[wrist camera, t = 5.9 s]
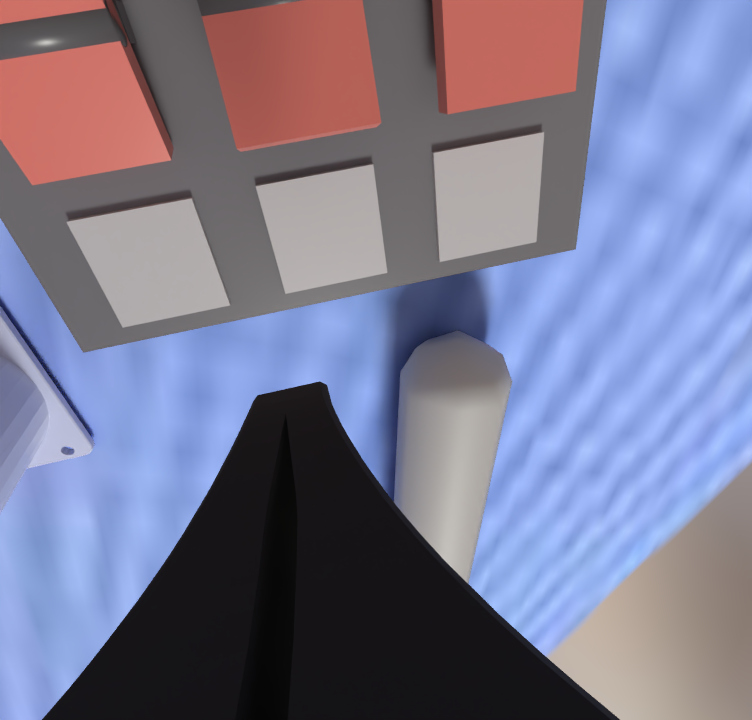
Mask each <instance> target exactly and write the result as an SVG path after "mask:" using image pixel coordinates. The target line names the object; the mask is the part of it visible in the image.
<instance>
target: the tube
mask: <svg viewBox="0 0 752 720" xmlns="http://www.w3.org/2000/svg"><path fill="white" fill-rule="evenodd" d="M511 384H512V380H511V377H510V374H509V372H508V369H507V366H506V363H505V360H504V357H503V355H502V354H501V353H499V352H498V351H497V350H495V349H494V348H492V347H491V346H489V345H488V344H486V343H484V342H482V341H480V340H478V339H476V338H473V337H471V336H469V335H467V334H465V333H463V332H461V331H459V330H458V331H454V332H451V333H448V334H444V335H441V336H438V337H435V338H431V339H428V340H426V341H425V342H423V343H422V344H421V345H419V346H418V347H416V348H415V350H414V351H413V353H412V354H411V356H410V358H409V359H408V361H407V362H406V364H405V365H404V367H403V368H402V370H401V372H400V390H399V410H398V430H397V450H396V470H395V489H394V503H395V504H396V506H397V507H398V508H399V509H400V510H401V512H402V513H403V514H404V515H405V516H406V518H407V519H408V520H409V521H410V522H411V524H412V525H413V526H414V527H415V528H416V529H417V531H418V532H419V533H420V534H421V535H422V536H423V537H424V538H425V540H426V541H427V542H428V543H429V544H430V545H431V546H432V547H433V548H434V549H435V550H436V552H437V553H438V554H439V555H440V556H441V557H442V558H443V559H444V560H445V561H446V562H447V563H448V564H449V565H450V566H451V567H452V568H453V569H454V570H455V571H456V572H457V573H458V574H459V575H460V576H461V577H462V578H463V579H464V580H465V581H466V582H467V583H469V578H470V573H471V569H472V564H473V560H474V555H475V550H476V546H477V541H478V536H479V532H480V527H481V523H482V518H483V513H484V509H485V504H486V500H487V495H488V490H489V486H490V481H491V476H492V472H493V467H494V463H495V458H496V453H497V449H498V444H499V439H500V435H501V430H502V426H503V421H504V416H505V412H506V407H507V403H508V398H509V393H510V389H511Z"/></svg>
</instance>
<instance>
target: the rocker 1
mask: <svg viewBox="0 0 752 720" xmlns="http://www.w3.org/2000/svg"><path fill="white" fill-rule="evenodd" d="M0 140H1V141H2V142H3V144H4V145H5V147H6V148H7V150H8V151H9V153H10V154H11V155H12V157H13V158H14V160H15V161H16V163H17V164H18V165H19V167H20V168H21V170H22V171H23V173H24V174H25V176H26V177H27V178H28V180H29V181H30V183H31V184H32V185H37V184H43V183H48V182H54V181H59V180H65V179H70V178H76V177H81V176H87V175H92V174H98V173H104V172H109V171H115V170H120V169H126V168H131V167H137V166H142V165H148V164H153V163H159V162H164V161H170V160H172V154H173V148H174V147H173V145H172V142H171V140H170V138H169V135H168V133H167V130H166V128H165V126H164V123H163V121H162V118H161V116H160V114H159V111H158V109H157V107H156V104H155V102H154V99H153V97H152V95H151V92H150V90H149V87H148V85H147V83H146V80H145V78H144V75H143V73H142V71H141V68H140V66H139V64H138V61H137V59H136V56H135V54H134V52H133V49H132V47H131V44H130V42H129V40H128V37H127V35H126V32H125V29H124V26H123V23H122V21H121V18H120V16H119V13H118V11H117V9H116V7H115V5H114V3H113V1H112V0H0Z"/></svg>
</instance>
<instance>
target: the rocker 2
mask: <svg viewBox="0 0 752 720" xmlns="http://www.w3.org/2000/svg"><path fill="white" fill-rule="evenodd" d="M197 2H198V6H199V9H200V12H201V16H202V19H203V23H204V27H205V31H206V34H207V38H208V42H209V46H210V50H211V53H212V57H213V61H214V65H215V69H216V72H217V76H218V80H219V84H220V88H221V91H222V95H223V99H224V103H225V107H226V110H227V114H228V118H229V122H230V126H231V129H232V133H233V137H234V141H235V145H236V148H237V150H239V151H240V152H243V151H248V150H254V149H259V148H265V147H270V146H276V145H281V144H287V143H292V142H298V141H303V140H309V139H314V138H320V137H325V136H331V135H336V134H342V133H347V132H353V131H358V130H364V129H370V128H375V127H377V126H378V125H380V124H381V117H380V110H379V104H378V97H377V91H376V84H375V78H374V72H373V65H372V59H371V52H370V46H369V39H368V33H367V26H366V20H365V13H364V7H363V0H197Z"/></svg>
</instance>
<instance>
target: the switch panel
mask: <svg viewBox="0 0 752 720" xmlns="http://www.w3.org/2000/svg"><path fill="white" fill-rule="evenodd" d="M112 1H113V3H114V5H115V7H116V9H117V11H118V13H119V16H120V18H121V21H122V23H123V26H124V29H125V32H126V35H127V37H128V40H129V42H130V44H131V47H132V49H133V52H134V54H135V56H136V59H137V61H138V64H139V66H140V68H141V71H142V73H143V75H144V78H145V80H146V83H147V85H148V87H149V90H150V92H151V95H152V97H153V99H154V102H155V104H156V107H157V109H158V111H159V114H160V116H161V118H162V121H163V123H164V126H165V128H166V130H167V133H168V135H169V138H170V140H171V142H172V145H173V147H174V148H173V154H172V160H170V161H164V162H159V163H153V164H148V165H142V166H137V167H131V168H126V169H120V170H115V171H109V172H104V173H98V174H92V175H87V176H81V177H76V178H70V179H65V180H59V181H54V182H48V183H43V184H37V185H32V184H31V183H30V181H29V180H28V178H27V177H26V176H25V174H24V173H23V171H22V170H21V168H20V167H19V165H18V164H17V163H16V161H15V160H14V158H13V157H12V155H11V154H10V153H9V151H8V150H7V148H6V147H5V145H4V144H3V142H2V141H1V140H0V218H1V220H2V221H3V223H4V224H5V226H6V228H7V229H8V231H9V233H10V234H11V236H12V237H13V239H14V241H15V242H16V244H17V246H18V247H19V249H20V250H21V252H22V254H23V255H24V257H25V259H26V260H27V262H28V263H29V265H30V267H31V268H32V270H33V272H34V273H35V275H36V276H37V278H38V280H39V281H40V283H41V285H42V286H43V288H44V289H45V291H46V293H47V294H48V296H49V298H50V299H51V301H52V302H53V304H54V306H55V307H56V309H57V311H58V312H59V314H60V315H61V317H62V319H63V320H64V322H65V324H66V325H67V327H68V328H69V330H70V332H71V333H72V335H73V337H74V338H75V340H76V341H77V343H78V345H79V346H80V348H81V350H82V351H83V352H88V351H93V350H97V349H102V348H107V347H112V346H116V345H121V344H126V343H131V342H135V341H140V340H145V339H150V338H155V337H159V336H164V335H169V334H174V333H178V332H183V331H188V330H193V329H197V328H202V327H207V326H212V325H217V324H221V323H226V322H231V321H236V320H240V319H245V318H250V317H255V316H259V315H264V314H269V313H274V312H278V311H283V310H288V309H293V308H298V307H302V306H307V305H312V304H317V303H321V302H326V301H331V300H336V299H340V298H345V297H350V296H355V295H359V294H364V293H369V292H374V291H379V290H383V289H388V288H393V287H398V286H402V285H407V284H412V283H417V282H421V281H426V280H431V279H436V278H440V277H445V276H450V275H455V274H460V273H464V272H469V271H474V270H479V269H483V268H488V267H493V266H498V265H502V264H507V263H512V262H517V261H521V260H526V259H531V258H536V257H541V256H545V255H550V254H555V253H560V252H564V251H569V250H574V249H576V242H577V234H578V226H579V218H580V210H581V202H582V194H583V186H584V178H585V170H586V162H587V154H588V146H589V138H590V130H591V122H592V114H593V106H594V98H595V90H596V82H597V74H598V66H599V58H600V49H601V41H602V33H603V25H604V17H605V9H606V1H607V0H584V1H583V13H582V24H581V36H580V47H579V59H578V70H577V82H576V91H574V92H568V93H563V94H557V95H552V96H546V97H541V98H535V99H530V100H524V101H519V102H513V103H508V104H502V105H497V106H491V107H486V108H480V109H475V110H469V111H463V112H458V113H452V114H444V113H440V112H439V109H438V92H437V75H436V57H435V40H434V22H433V5H432V0H363V7H364V13H365V20H366V26H367V33H368V39H369V46H370V52H371V59H372V65H373V72H374V78H375V84H376V91H377V97H378V104H379V110H380V117H381V124H380V125H378V126H377V127H375V128H370V129H364V130H358V131H353V132H347V133H342V134H336V135H331V136H325V137H320V138H314V139H309V140H303V141H298V142H292V143H287V144H281V145H276V146H270V147H265V148H259V149H254V150H248V151H243V152H240V151H239V150H237V148H236V145H235V141H234V137H233V133H232V129H231V126H230V122H229V118H228V114H227V110H226V107H225V103H224V99H223V95H222V91H221V88H220V84H219V80H218V76H217V72H216V69H215V65H214V61H213V57H212V53H211V50H210V46H209V42H208V38H207V34H206V31H205V27H204V23H203V19H202V16H201V12H200V9H199V6H198V2H197V0H112Z"/></svg>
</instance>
